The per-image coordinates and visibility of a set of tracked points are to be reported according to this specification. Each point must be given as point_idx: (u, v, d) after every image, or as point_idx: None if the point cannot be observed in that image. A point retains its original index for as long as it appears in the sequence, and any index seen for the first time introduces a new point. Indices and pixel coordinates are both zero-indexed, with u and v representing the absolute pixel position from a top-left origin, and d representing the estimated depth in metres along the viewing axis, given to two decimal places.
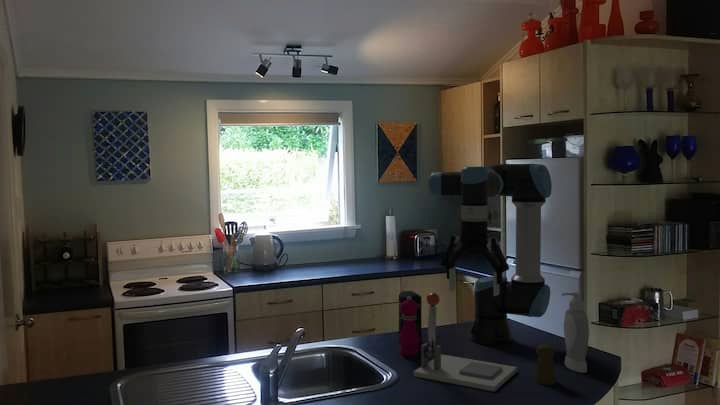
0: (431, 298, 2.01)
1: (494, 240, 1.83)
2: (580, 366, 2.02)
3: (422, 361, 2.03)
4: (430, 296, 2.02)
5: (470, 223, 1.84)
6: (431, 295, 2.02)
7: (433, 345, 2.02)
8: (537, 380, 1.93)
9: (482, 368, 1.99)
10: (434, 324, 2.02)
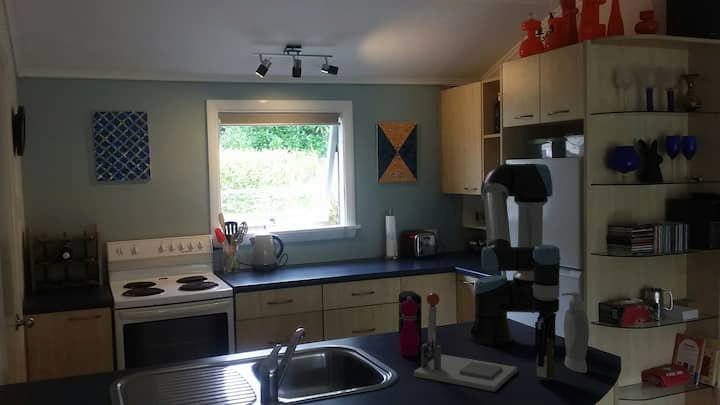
0: (431, 298, 2.01)
1: (535, 324, 1.89)
2: (580, 366, 2.02)
3: (422, 361, 2.03)
4: (430, 296, 2.02)
5: (533, 298, 1.94)
6: (431, 295, 2.02)
7: (433, 345, 2.02)
8: (536, 373, 1.94)
9: (482, 368, 1.99)
10: (434, 324, 2.02)
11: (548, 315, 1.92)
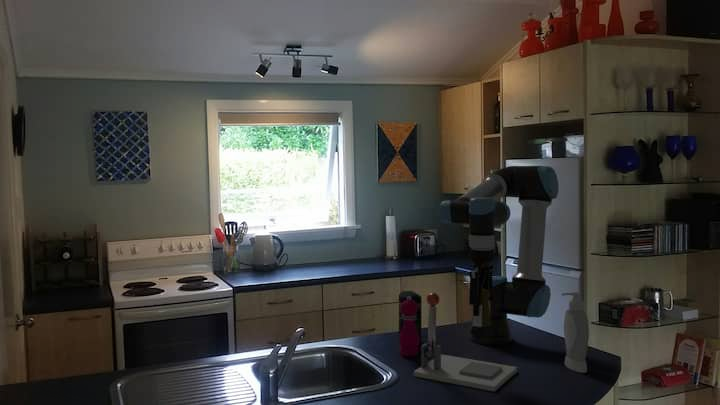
0: (431, 298, 2.01)
1: (469, 273, 1.92)
2: (580, 366, 2.02)
3: (422, 361, 2.03)
4: (430, 296, 2.02)
5: None
6: (431, 295, 2.02)
7: (433, 345, 2.02)
8: None
9: (482, 368, 1.99)
10: (434, 324, 2.02)
11: (483, 265, 1.95)
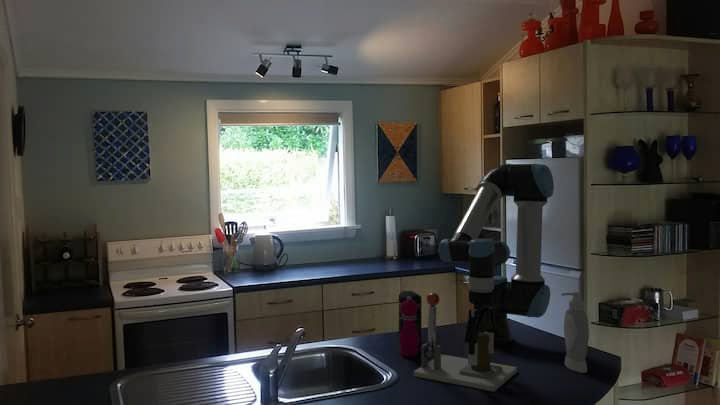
0: (431, 298, 2.01)
1: (469, 311, 1.92)
2: (580, 366, 2.02)
3: (422, 361, 2.03)
4: (430, 296, 2.02)
5: None
6: (431, 295, 2.02)
7: (433, 345, 2.02)
8: (473, 367, 1.98)
9: None
10: (434, 324, 2.02)
11: (483, 307, 1.96)
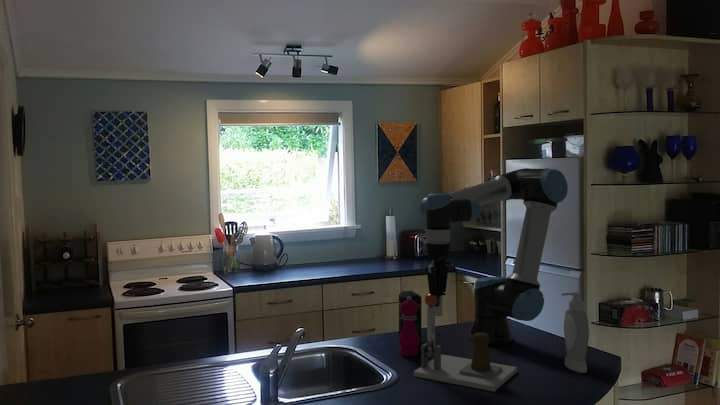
0: (429, 299, 2.00)
1: (426, 269, 2.01)
2: (580, 366, 2.02)
3: (422, 361, 2.03)
4: (428, 297, 2.01)
5: None
6: (429, 296, 2.01)
7: (433, 345, 2.02)
8: (473, 367, 1.98)
9: None
10: (433, 325, 2.02)
11: (439, 258, 2.04)
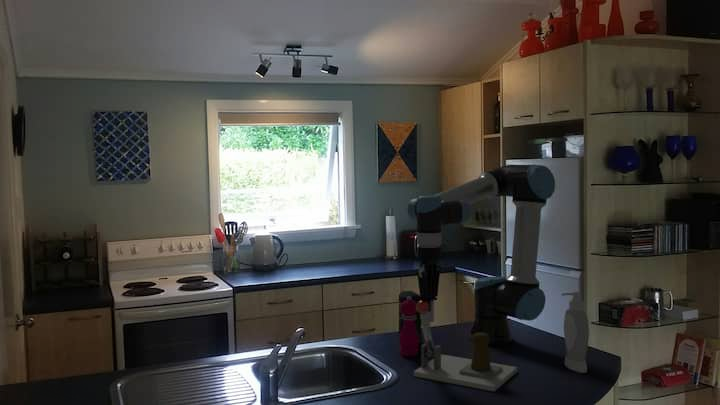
0: (420, 309, 1.95)
1: (416, 273, 1.96)
2: (580, 366, 2.02)
3: (422, 361, 2.03)
4: (419, 306, 1.95)
5: None
6: (420, 305, 1.95)
7: (431, 347, 2.01)
8: (473, 367, 1.98)
9: None
10: (428, 329, 1.99)
11: (430, 262, 1.99)
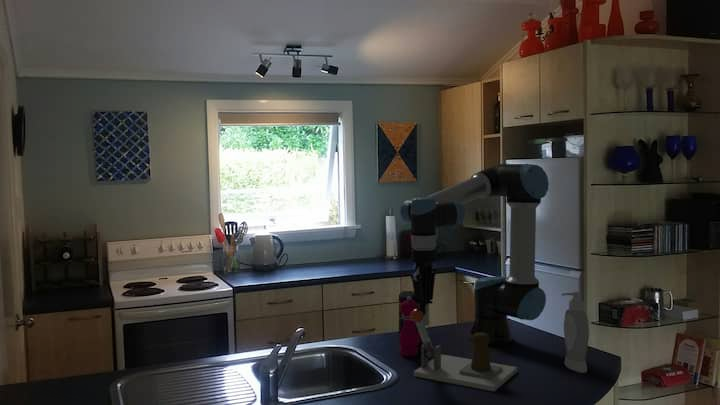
0: (415, 319, 1.92)
1: None
2: (580, 366, 2.02)
3: (422, 361, 2.03)
4: (413, 317, 1.92)
5: None
6: (414, 316, 1.92)
7: (431, 349, 2.01)
8: (473, 367, 1.98)
9: None
10: (426, 334, 1.97)
11: (425, 265, 1.96)
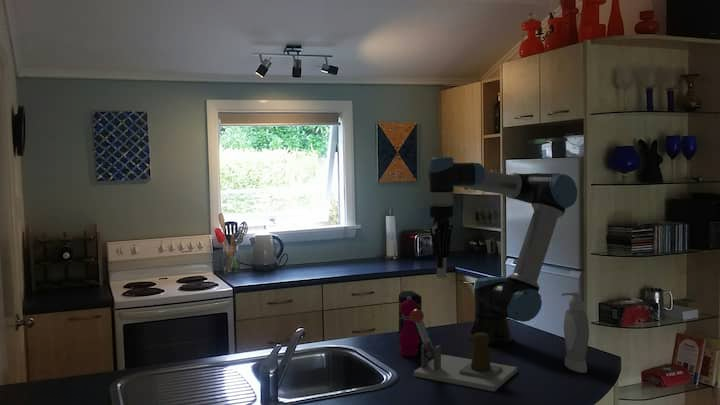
0: (415, 319, 1.92)
1: (430, 230, 2.05)
2: (580, 366, 2.02)
3: (422, 361, 2.03)
4: (413, 317, 1.92)
5: None
6: (414, 316, 1.92)
7: (431, 349, 2.01)
8: (473, 367, 1.98)
9: None
10: (426, 334, 1.97)
11: (443, 221, 2.08)
